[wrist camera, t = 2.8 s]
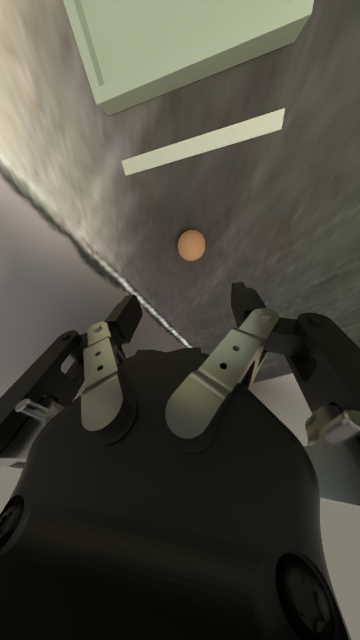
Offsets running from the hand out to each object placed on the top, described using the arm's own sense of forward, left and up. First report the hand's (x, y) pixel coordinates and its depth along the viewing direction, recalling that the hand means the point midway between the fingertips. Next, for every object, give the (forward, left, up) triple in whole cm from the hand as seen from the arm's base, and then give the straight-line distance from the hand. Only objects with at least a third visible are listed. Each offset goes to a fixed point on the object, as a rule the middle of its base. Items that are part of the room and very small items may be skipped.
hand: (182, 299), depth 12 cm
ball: (0, 0, -18) cm, 18 cm away
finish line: (-2, -12, -21) cm, 24 cm away
